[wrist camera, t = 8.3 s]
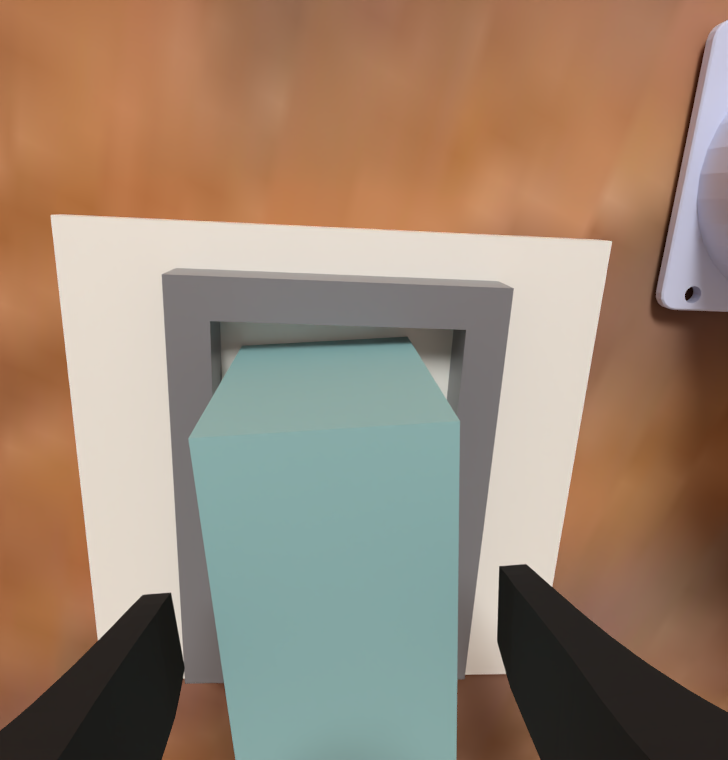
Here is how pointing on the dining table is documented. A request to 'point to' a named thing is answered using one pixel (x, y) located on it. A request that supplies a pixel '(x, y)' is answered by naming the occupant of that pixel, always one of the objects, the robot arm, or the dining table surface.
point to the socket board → (312, 324)
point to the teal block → (333, 550)
